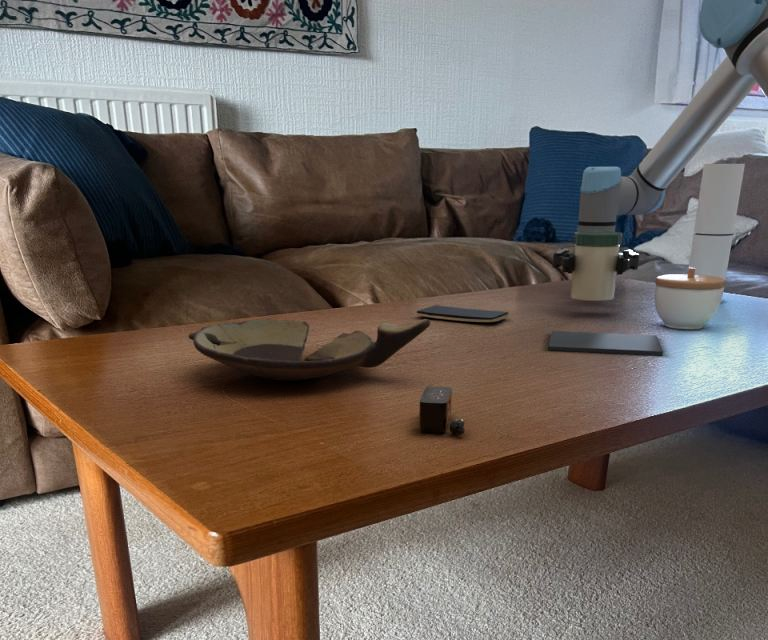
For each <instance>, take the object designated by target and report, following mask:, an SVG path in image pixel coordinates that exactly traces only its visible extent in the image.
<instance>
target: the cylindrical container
mask: <svg viewBox="0 0 768 640" xmlns="http://www.w3.org/2000/svg"><path fill="white" fill-rule="evenodd" d="M745 166H746V163H703V169H702V175H701V182H700V188H699V194H698V201H697V209H696V214H695V221H694V229H693V234H692V235H693V236H692V242H691V248H690V249H691V250H690V255H689V261H688V269H687V271H688V270H689V268H695V274H694V275H705V276H714V277H719V278H722V279H724V280H725V281H726V278H727V273H728V266H729V262H730V261H729V260H730V254H731V250H732V249H731V248H732V243H733V237H734V231H735V226H736V219H737V213H738V208H739V203H740V196H741V190H742V185H743V178H744V173H745V172H744V171H745ZM687 275H688V273H687ZM724 290H725V287H724V288H723V292H725V291H724ZM723 297H724V293H723V294H722V299H721V302H720V303H722V302H723Z"/></svg>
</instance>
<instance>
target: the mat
mask: <svg viewBox="0 0 768 640" xmlns="http://www.w3.org/2000/svg"><path fill="white" fill-rule="evenodd" d="M547 347H548V348H547V350H548V351H557V352H577V353H578V352H579V353H581V352H582V353H599V354H600V353H601V354H619V355H639V356H640V355H643V356H663V355H664V354H663V353H664V350H663V348H662V346H661V343H660V340H659V337H658V335H657V334H637V333H636V334H635V333H614V332H613V333H610V332H589V331H587V332H586V331H564V330H563V331H561V330H552V331H551V333H550V338H549V344H548V346H547Z"/></svg>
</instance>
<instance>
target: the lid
mask: <svg viewBox="0 0 768 640" xmlns="http://www.w3.org/2000/svg"><path fill="white" fill-rule="evenodd" d="M573 234H574V235H573V244H574V245H576V244H577V245H588V246H613V245H619V246H620V245H622V244H623V232H619V231H615V232H606V231H584V232H577V231H574V233H573Z"/></svg>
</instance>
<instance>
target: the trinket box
mask: <svg viewBox="0 0 768 640" xmlns="http://www.w3.org/2000/svg"><path fill="white" fill-rule="evenodd" d="M688 268H689V267H688ZM687 274H688V275H687ZM687 274H682V273H681V274H679V273H678V274H677V273H676V274H675V273H674V274H663V275H659V276H657V277H655V291H654V306H655V307H654V308H655V311H656V314H657V316H658V317H659V318H660V321H662V322H663V326H665V327H667V328H670V329H677V330H699V329H703V328H704V325H706V324H708V322H710V321H711V320H712V319H713V318H714V316H715V315H716V314H717V312H718V310H719V308H720V304H721V303H722V302H721V299H722V300H723V297H722V294H723V295H724V291H723V288H724V289H725V286H726V279H725V280H724V279H722V278H719V277H714V276H705V275H694V274H695V268H689V270H688V269H687Z"/></svg>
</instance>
